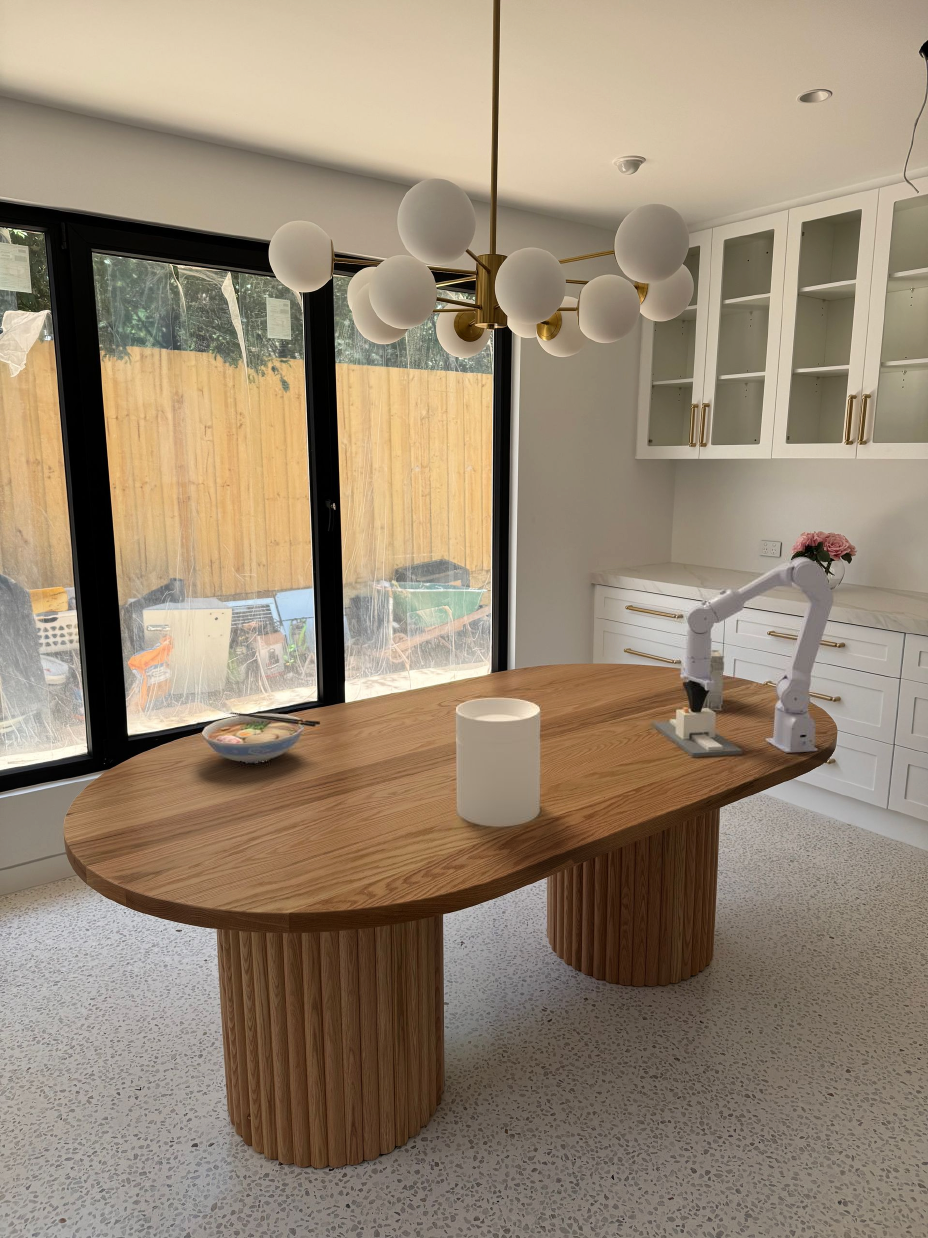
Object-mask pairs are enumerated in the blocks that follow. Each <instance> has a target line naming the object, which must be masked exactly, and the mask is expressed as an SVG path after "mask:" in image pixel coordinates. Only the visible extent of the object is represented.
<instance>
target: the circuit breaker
mask: <svg viewBox="0 0 928 1238" xmlns="http://www.w3.org/2000/svg"><path fill="white" fill-rule="evenodd" d="M724 658H725V655H724V654H723V653H722V652H721V651H720V650H719V649H711V662H710V675H711V678H712V680H713V681H714V682H715V690H710V691H709V693H708V694H707V696H706V698H705V701H704V704H703V707H702V708H708V709H710V710H712V711H723V708H722V705H723V700H724V699H723V696H724V694H723V693H724V692H723V683H724V682H723V681H724V679H723V678H724V677H723V676H724V672H725V660H724ZM688 681H689V680H688V679H686V682H688Z"/></svg>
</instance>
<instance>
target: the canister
mask: <svg viewBox="0 0 928 1238" xmlns="http://www.w3.org/2000/svg"><path fill="white" fill-rule="evenodd" d="M455 708H456V709H455V733H456V736H455V738H456V739H455V741H456V743H455V745H456V747H455V748H456V759H455V760H456V813H457V814H458V815H459V817H460V818H462V819H464V820H465V821H467V822H469V823H471V824H474V825H475V824H476V825H479V826H485V827H486V826H487V827H491V828H492V827H493V828H494V827H495V828H496V827H497V828H498V827H500V828H501V827H502V828H503V827H512V826H520V825H523V824H525V823H528V822H531V821H533V820H534V819H535V818H537V817H538V815H539V813H540V811H541V810H540V809H541V806H540V805H541V804H540V803H541V801H540V800H541V799H540V798H541V793H540V792H541V790H540V789H541V737H540V736H541V734H540V733H541V709H540V706H539V705H537V704H536V703H534V702H532V701H531V702H530V701H528V700H522V699H518V698H509V697H488V698H487V697H486V698H478V699H472V700H467V701H465V702H463V703H460V704H458V705H457V706H456V707H455Z"/></svg>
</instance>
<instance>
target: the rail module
mask: <svg viewBox="0 0 928 1238" xmlns="http://www.w3.org/2000/svg"><path fill="white" fill-rule="evenodd" d="M675 712H676V713H675V716H676V717H675V719H676V734H677V735H678V736H680V737H681V738H682V739H689V733H695V732H702V733H703V734H706V735H707V736H709V737H710V738H712V737H715V732H716V717H717V716H716V715H717V713H716V712H714V710H710V709H708V708H702V710H701V712H691V710H690V707H687V706H683V707H682V709H676V711H675Z"/></svg>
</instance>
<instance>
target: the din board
mask: <svg viewBox="0 0 928 1238" xmlns="http://www.w3.org/2000/svg"><path fill="white" fill-rule="evenodd" d="M651 726H652V727H653V728H654V729H655V730H657V731H658V732H659V733H661V734H662V735H663V736H664V737H666V738H667V739H668V740H669V741H671V742H672V743H673V744H675V745H676V746H677V747H679V749H681V750H682V751H684V752H685V753H686V754H688V755H689V756H690V757H691V758H704V757H718V756H719V757H720V756H721V757H722V756H734V755H735V756H736V755H737V756H738V755H743V750H742V749H741V748H740V747H738V746H737V745H735V744H733V742H731V741H729V740H728V739H727V738H725V737H724V736H722V735H721V734H719V733H718V732H716V731H715V737H712V738H710V737H709V736H707V735H706V734H703V733H702V735H692V736H691V735H690V734H689V739H682V738H681V737H680V736H678V735H677V734H676V718H672V719H669V721H666V720H665V721H652V725H651Z"/></svg>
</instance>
